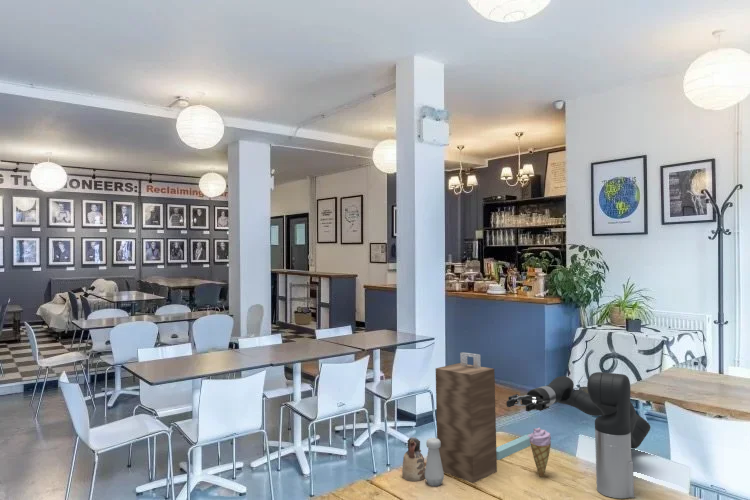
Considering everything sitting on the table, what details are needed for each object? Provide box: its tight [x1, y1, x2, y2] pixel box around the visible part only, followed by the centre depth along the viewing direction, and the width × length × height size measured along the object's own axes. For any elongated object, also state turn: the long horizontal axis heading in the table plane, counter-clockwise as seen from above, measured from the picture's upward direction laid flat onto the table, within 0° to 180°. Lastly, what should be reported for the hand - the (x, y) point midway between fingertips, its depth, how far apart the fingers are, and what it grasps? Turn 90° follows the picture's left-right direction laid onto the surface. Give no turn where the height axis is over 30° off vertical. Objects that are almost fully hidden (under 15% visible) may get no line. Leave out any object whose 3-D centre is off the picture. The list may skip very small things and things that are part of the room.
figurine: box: [401, 436, 426, 482], centre depth 158 cm, size 7×7×12 cm
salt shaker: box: [424, 437, 445, 487], centre depth 153 cm, size 6×6×13 cm
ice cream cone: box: [527, 427, 552, 478], centre depth 157 cm, size 7×6×15 cm
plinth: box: [435, 362, 498, 484], centre depth 162 cm, size 14×12×32 cm
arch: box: [459, 351, 482, 369], centre depth 165 cm, size 7×2×4 cm, turn 42°
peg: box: [496, 432, 532, 461], centre depth 179 cm, size 24×3×3 cm, turn 132°
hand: (516, 406), depth 182 cm, fingers open, 7 cm apart
